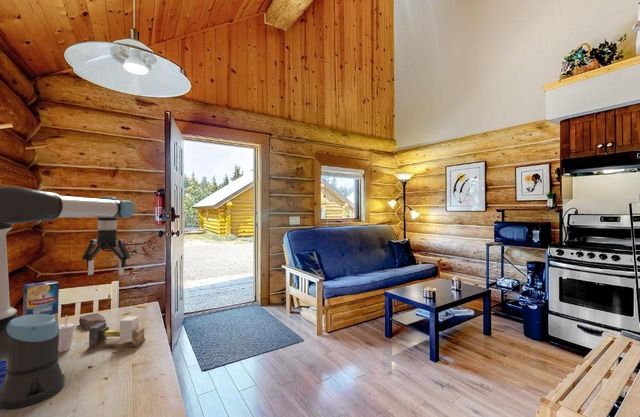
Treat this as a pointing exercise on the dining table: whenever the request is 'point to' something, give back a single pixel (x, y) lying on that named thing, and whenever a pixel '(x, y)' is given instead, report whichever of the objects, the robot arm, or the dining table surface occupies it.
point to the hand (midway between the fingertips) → (106, 274)
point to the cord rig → (101, 332)
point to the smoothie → (65, 335)
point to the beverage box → (41, 298)
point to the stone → (91, 320)
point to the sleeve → (128, 326)
